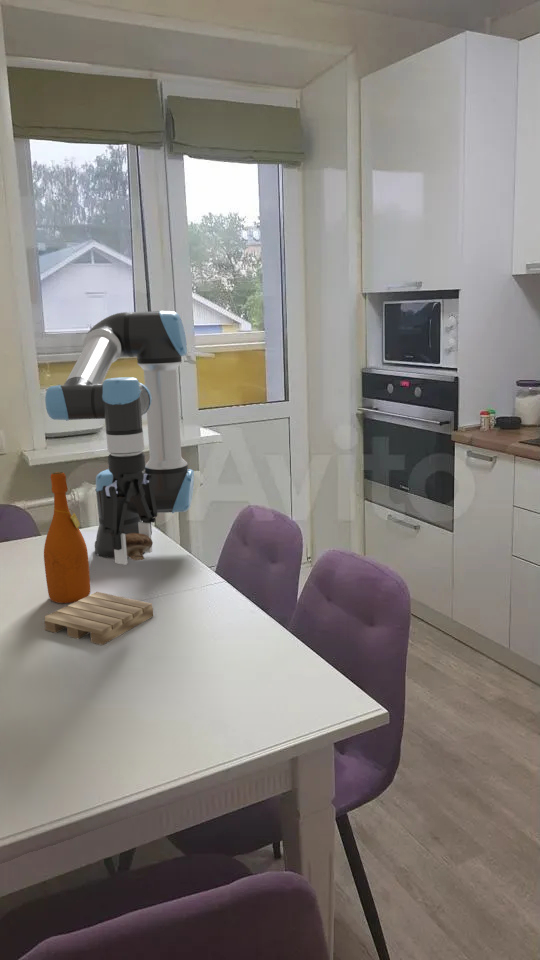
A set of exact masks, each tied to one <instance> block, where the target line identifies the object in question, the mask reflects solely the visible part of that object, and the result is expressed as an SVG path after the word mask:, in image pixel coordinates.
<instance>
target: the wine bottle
mask: <svg viewBox="0 0 540 960" xmlns="http://www.w3.org/2000/svg"><path fill="white" fill-rule="evenodd" d="M50 482H51V483H50V484H51V492H52V493H53V495H54V496H53V500H54V502H53V505H54V506H53V515H52V519H51V521H50V525H49V528H48V532H47V534H46V538H45V542H44V546H43V547H44V548H43V561H44V563H43V564H44V570H45V571H44V572H45V573H44V574H45V580H46V586H47V593H48V597H49V599H50V600H51V601H52V602H53V603H56V604H72V603H74V602H76V601H77V602H78V600H80V599H83V598H85V597H88V596H89V595H91V594H90V593H91V577H90V561H89V555H88V548H87V544H86V543H87V542H86V541H85V539H84V537H83V534H82V532H81V530H80V528H79V527H80V526H81V524H80V522H79V521H80V520H79V519H78V517H77V515H76V513H74V511H73V510H71V508H69V504H68V499H67V492H68V490H69V488H68V484H67V475H66V473H65V472H63V471H55V472H53V473H51V474H50ZM71 512H72V513H73V514H71Z"/></svg>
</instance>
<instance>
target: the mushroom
mask: <svg viewBox="0 0 540 960" xmlns="http://www.w3.org/2000/svg"><path fill="white" fill-rule="evenodd" d="M125 538H126V550H127V558H128V557H129V559H130V560H133V561H144V560H145V557H144V553H146V552H145V551H147V550H148V549H149V548H151V546H152V547H153V543H154V542H153V539H152V538H151V539H150V538H149V537H148V536H146V535H144V534H139V533H130V534H126V535H125ZM143 552H144V553H143Z"/></svg>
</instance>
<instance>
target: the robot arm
mask: <svg viewBox="0 0 540 960" xmlns="http://www.w3.org/2000/svg"><path fill="white" fill-rule="evenodd" d="M82 345H83V349H82V351H81V353H80V355H79V357H78V358H77V360H76V362H75V364H74V366H73V367H72V370H71V371H70V374H69V375H68V377H67V378H66V381H65V382H64V384H63V385H61V384H58V385H51V386H49V387H47V389H46V392H45V396H44V398H45V399H44V400H45V409H46V410H45V411H46V413H47V414H48V417H49V418H50V419H52V420H56V421H74V420H75V421H77V420H80V421H81V420H104V422H105V433H106V445H107V452H108V453H109V454H108V456H107V461H108V463H107V464H108V469H105V470H102V471H100V472H99V473H97V474H96V476H95V494H96V504H97V506H96V507H97V514H98V528H97V532H96V533H97V534H96V538H95V539H96V540H95V541H94V553H95V555H98V556H99V557H104V558H109V559H111V558H112V559H114V562H115V564H119V565H128V563H129V562H128V557H127V550H126V538H125V535H126V534H130V533H139V534H144V535H146V536H148V537H149V538H150V539H151V540H152V533H153V529H152V523H156V518H157V517H158V514H162V513H163V514H164V513H171V514H174V513H183V512H187V511H188V510H189V509H190V507H191V504H192V500H193V496H194V495H193V493H194V485H195V471H194V470H193V469H191V468H189V466H188V462H187V460H185V459H184V458H183V457H182V444H181V441H182V440H181V425H180V411H179V410H180V409H179V395H178V394H179V393H178V376H177V374H178V373H177V370H178V368H179V367H180V365H181V364H182V362H183V361H182V357H185V356H187V354H188V347H187V338H186V333H185V328H184V324H183V321H182V318H181V317H180V315H179V313H177V312H176V311H173V310H172V311H171V310H157V311H156V310H155V311H154V310H153V311H152V310H151V311H133V312H131V311H129V312H127V311H125V312H117V313H115V314H111V315H109V316H106V318H103V319H101V320H100V321H99V322H97V323H96V324H95V325H93V326H92V327H91V328H90V330H89V331H88V332H87V333H86V335H85V337H84V339H83V344H82ZM122 358H136V359H137V361H136V363H137V366H139V367H140V368H141V369H142V370H143V379H144V384H143V383H142V382H139V380H138V378H136V377H130V376H127V377H124V376H123V377H111V378H106V376H107V374H108V372H109V370H110V368H111V366H112V364H113V363H115V362H117V360H118V359H122ZM105 378H106V379H105ZM145 414H146V421H147V434H148V449H149V450H148V453H149V458H148V459H149V460H148V461H147V462H146V459H145V458H146V457H145V456H146V455H145V453H144V452H143V451H144V450H145V442H144V441H145V440H144V430H143V419H142V418H143V415H145ZM144 553H149V554H150V553H153V545H152V546H151V548H149V549H148V550H147V551H145V552H143V554H144Z"/></svg>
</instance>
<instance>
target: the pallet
mask: <svg viewBox="0 0 540 960" xmlns="http://www.w3.org/2000/svg"><path fill="white" fill-rule="evenodd" d="M153 617H154V607H153V603H151V602H147V601H142V600H139V599H138V600H137V599H132V598H129V597H128V598H127V597H124V596H119V595H114V594H110V593H109V594H108V593H105V592H100V591H96V592H93V593H91V594H89V595H88V596H87V597H85V598H83V599H80V600H78V601H76V602H73V603H69V604H68V605H66V606H64V607H62V608H60V609H57V610H55V611H53V612H51V613H49V614H47V615H45V616H44V628H45V629H44V630H45V631H47V632H51V633H55V634H56V633H58V632H60V631H62V630H64V629H66V632H67V637H69V638H74V639H81V638H83V637H85V636H87V635H88V634H90V635H89V636H90V642H91V643H93V644H96V645H100V646H104V645H105V644H107V643H109V642H110V641H113V640H115V639H116V638H117V637H119V636H121V635H123V634H124V633H126V632H128V631H130V630H131V629H134V628H135V627H138V626H139V625H140V624H142V623H144V622H145V621H147V620H149V619H151V618H153Z"/></svg>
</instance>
